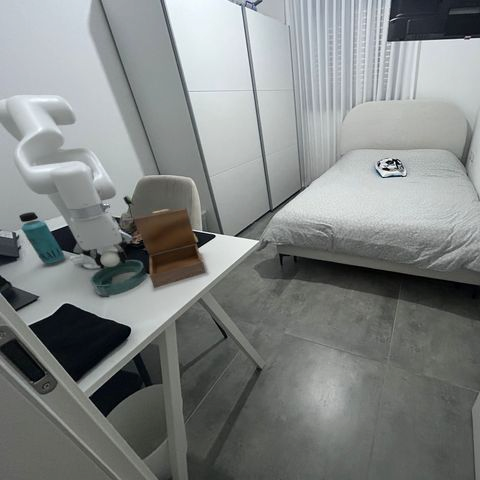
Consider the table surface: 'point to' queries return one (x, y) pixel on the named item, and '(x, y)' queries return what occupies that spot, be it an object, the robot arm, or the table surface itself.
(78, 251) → the robot arm
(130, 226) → the plant with pod
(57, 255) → the beverage bottle
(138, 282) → the bowl
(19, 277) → the table surface
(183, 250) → the brown wooden box base
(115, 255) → the egg
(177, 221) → the egg box lid
